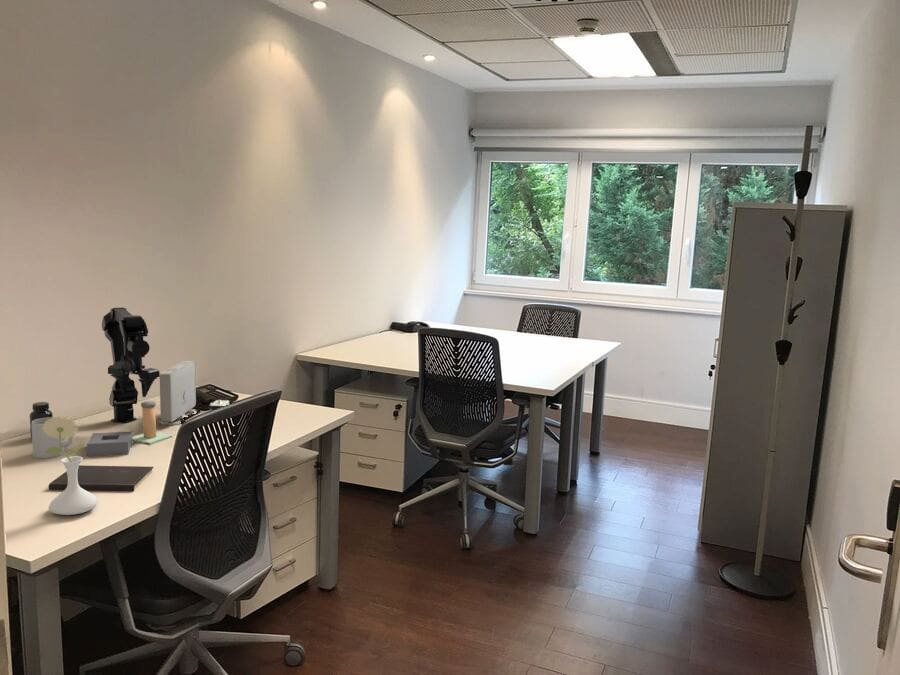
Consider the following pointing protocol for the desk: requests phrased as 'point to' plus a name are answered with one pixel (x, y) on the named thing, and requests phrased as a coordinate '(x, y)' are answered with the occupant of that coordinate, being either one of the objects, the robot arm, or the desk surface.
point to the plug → (149, 419)
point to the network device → (177, 392)
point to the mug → (45, 440)
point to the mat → (151, 440)
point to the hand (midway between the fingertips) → (134, 395)
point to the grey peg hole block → (109, 443)
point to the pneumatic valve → (218, 404)
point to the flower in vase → (68, 471)
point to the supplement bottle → (39, 412)
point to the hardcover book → (105, 478)
